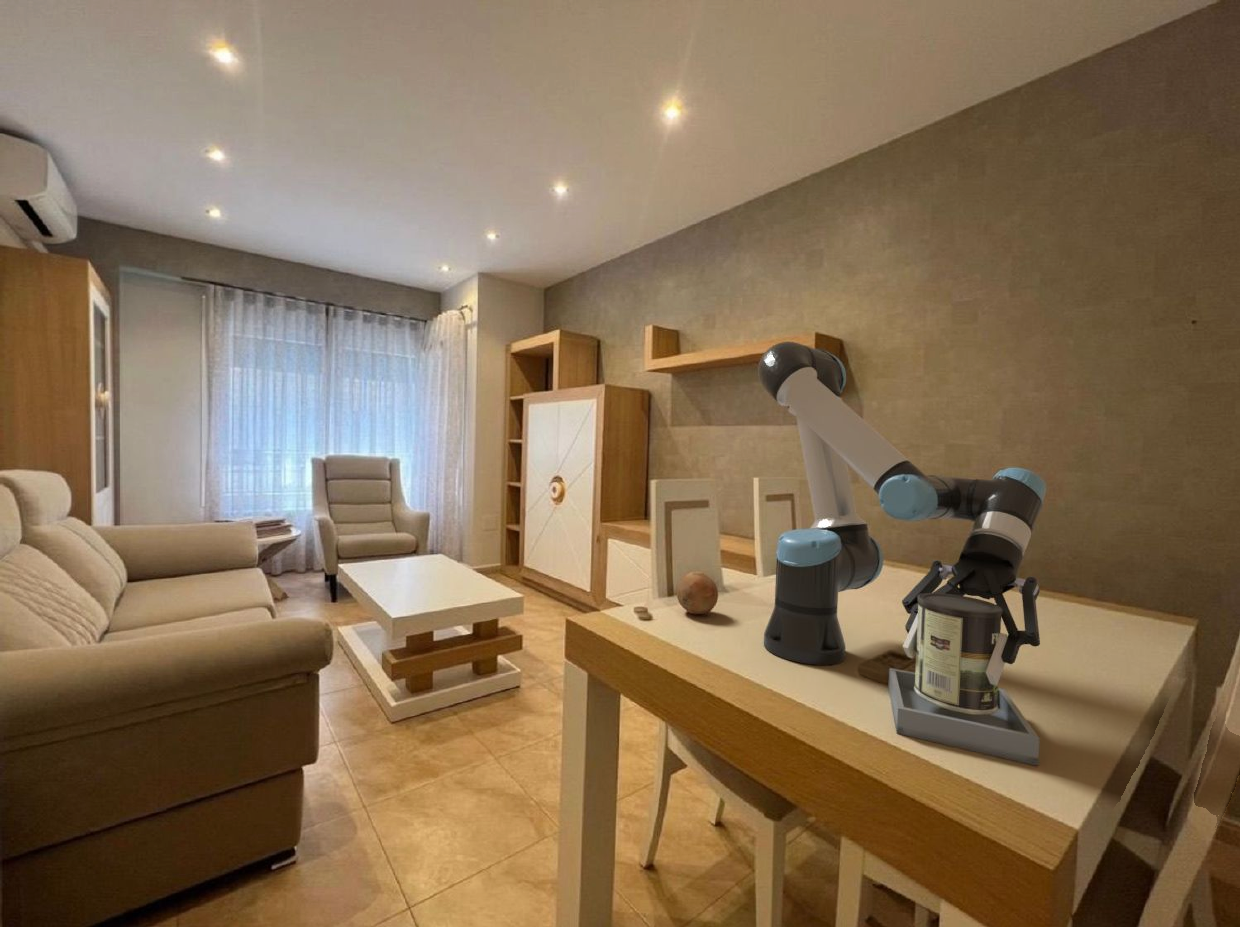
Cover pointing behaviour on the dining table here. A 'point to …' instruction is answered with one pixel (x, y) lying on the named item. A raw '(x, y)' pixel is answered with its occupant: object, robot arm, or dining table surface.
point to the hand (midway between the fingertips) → (947, 665)
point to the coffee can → (956, 652)
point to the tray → (962, 723)
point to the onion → (697, 593)
